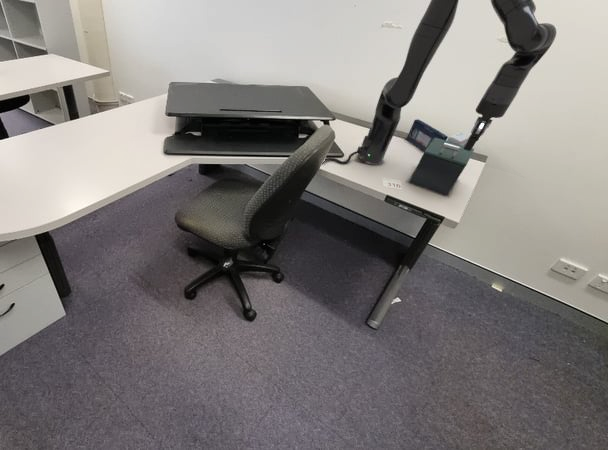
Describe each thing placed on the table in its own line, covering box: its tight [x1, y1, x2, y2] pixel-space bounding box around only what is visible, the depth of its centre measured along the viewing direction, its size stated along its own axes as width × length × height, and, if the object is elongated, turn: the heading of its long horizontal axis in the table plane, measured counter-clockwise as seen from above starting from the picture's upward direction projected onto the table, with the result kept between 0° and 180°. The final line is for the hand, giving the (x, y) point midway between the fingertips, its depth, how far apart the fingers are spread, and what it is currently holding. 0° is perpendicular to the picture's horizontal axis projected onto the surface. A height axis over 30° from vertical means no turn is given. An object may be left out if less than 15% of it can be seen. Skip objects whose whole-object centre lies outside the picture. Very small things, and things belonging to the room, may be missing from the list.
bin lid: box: [423, 138, 475, 167], centre depth 120 cm, size 16×14×5 cm
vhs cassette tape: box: [405, 119, 449, 153], centre depth 148 cm, size 18×3×10 cm, turn 11°
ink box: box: [446, 131, 470, 146], centre depth 139 cm, size 8×5×12 cm, turn 123°
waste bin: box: [408, 152, 466, 197], centre depth 126 cm, size 16×14×13 cm
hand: (467, 149), depth 112 cm, fingers closed
